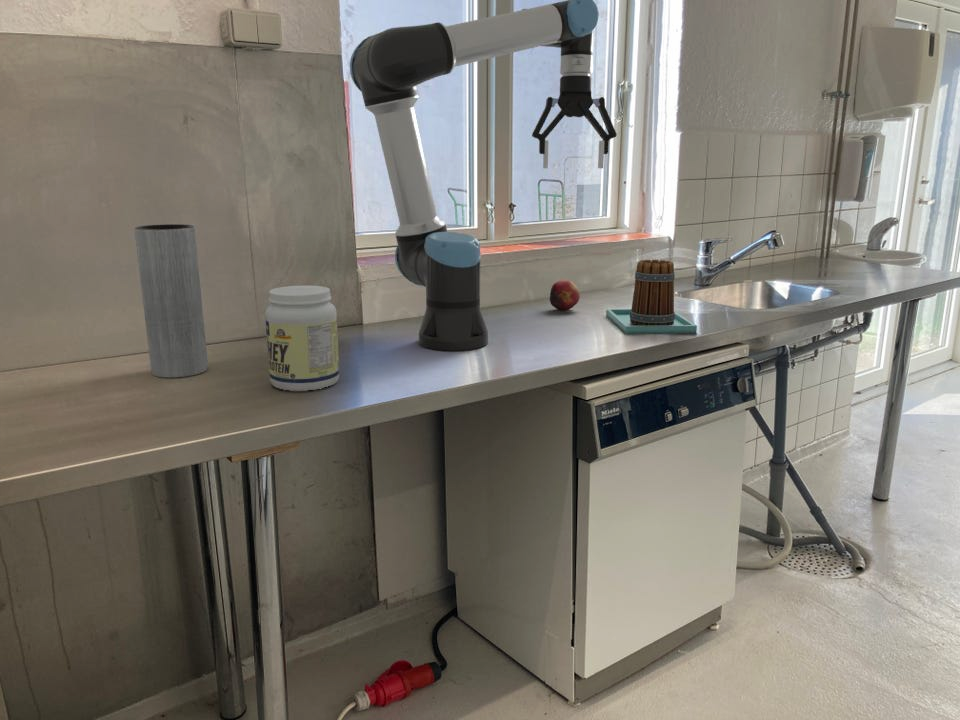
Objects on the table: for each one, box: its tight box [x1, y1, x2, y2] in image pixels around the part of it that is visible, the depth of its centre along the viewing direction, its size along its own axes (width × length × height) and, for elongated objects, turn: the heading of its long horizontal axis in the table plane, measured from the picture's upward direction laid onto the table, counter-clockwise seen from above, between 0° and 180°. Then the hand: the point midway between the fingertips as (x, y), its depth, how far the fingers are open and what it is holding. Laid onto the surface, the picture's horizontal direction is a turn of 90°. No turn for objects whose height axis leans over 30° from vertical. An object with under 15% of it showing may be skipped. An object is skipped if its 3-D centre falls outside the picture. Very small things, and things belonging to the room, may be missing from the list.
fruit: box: [549, 280, 581, 312], centre depth 196 cm, size 8×8×8 cm
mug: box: [630, 258, 676, 326], centre depth 178 cm, size 16×11×15 cm
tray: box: [605, 308, 698, 335], centre depth 180 cm, size 17×21×2 cm
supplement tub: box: [264, 284, 340, 392], centre depth 130 cm, size 12×12×17 cm
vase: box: [133, 223, 209, 379], centre depth 136 cm, size 10×10×27 cm
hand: (573, 168), depth 180 cm, fingers open, 13 cm apart
